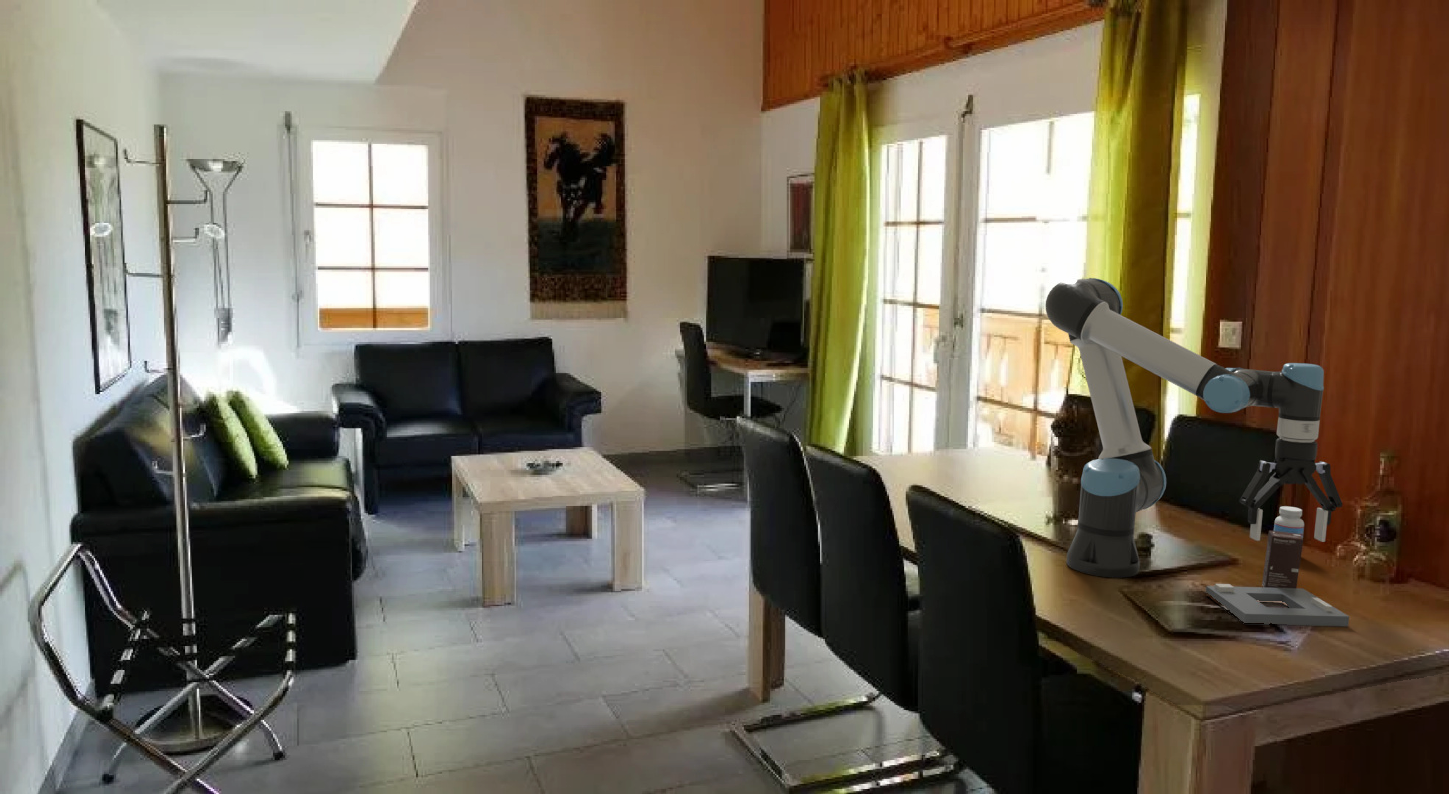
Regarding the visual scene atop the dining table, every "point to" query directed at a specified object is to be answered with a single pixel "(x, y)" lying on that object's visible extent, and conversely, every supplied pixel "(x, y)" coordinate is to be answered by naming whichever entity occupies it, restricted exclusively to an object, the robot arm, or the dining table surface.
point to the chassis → (1300, 609)
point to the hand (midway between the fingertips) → (1287, 539)
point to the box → (1282, 560)
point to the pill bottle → (1289, 521)
